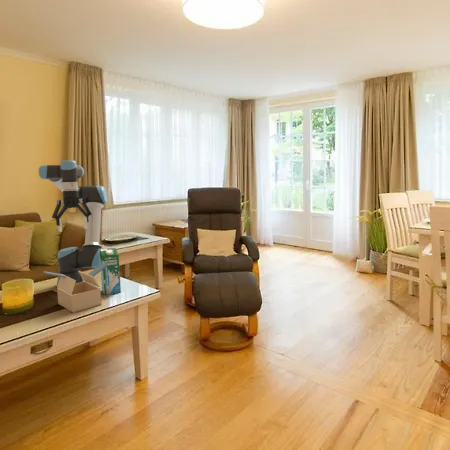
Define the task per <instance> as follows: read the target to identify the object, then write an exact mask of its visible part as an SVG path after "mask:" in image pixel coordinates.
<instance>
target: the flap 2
mask: <svg viewBox="0 0 450 450" xmlns="http://www.w3.org/2000/svg"><path fill="white" fill-rule="evenodd" d="M107 266H108V264H105V263H102V264H101V265H99V266H98V267H97V268H93V270H92V271H90V272H88V273H86V272H83V271H81V270H79V271H78V272H79V273H80V275H81V276H82V278H83V282H87V283H89V284H91V285H94V286H96V287H98V288H100V284H99V282H98V281H97V280H96V279H95V276H97V275H98V274H99V273H101V271H102V270H103V269H104V268H106V267H107Z"/></svg>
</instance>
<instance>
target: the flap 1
mask: <svg viewBox="0 0 450 450" xmlns="http://www.w3.org/2000/svg"><path fill="white" fill-rule="evenodd" d="M42 273H43V274H45V275H48V276H54V277H60V279H59V282H58V285H57V284H56V288H58V287H59V288H61V289H62V290H64V291H66V292H68V293H70V294H72V291H73V288H74V285H75V282H76V280H74V279H71V278H69V277H67V276H65V275H63V274H59V273H58V272H57V273H56V272H51V271H50V272H49V271H46V270H42Z"/></svg>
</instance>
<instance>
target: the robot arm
mask: <svg viewBox="0 0 450 450" xmlns="http://www.w3.org/2000/svg"><path fill="white" fill-rule="evenodd" d="M84 174H85V170H84V167H82V166H81V165H79V164H77V162H76V160H61V162H60V164H43V165H40V166H39V167H38V176H39V177H40V179H42V180H49V182H51V183H52V184H53V185H54V186H55V187H56V188H57V189H58V190H60V191H61V192H62V199H63V200H61V199H57V200H56V205H55V208H54V211H53V213H52V216H51V218H52V219H54V220H55V224H56V227H57V226H58V227H57V228H58V232H61V233H62V232H63V226H62V225H63V224H62V223H63V222H62V219H61V218H62V216H63V215H64V214H65V212H66V211H67V209H72V208H74V209H75V208H76V209H78V211H79V212H80V213H81V214H82V215H83V216H82V217H83V219H82V220H83V221H82V222H83V228H84V229H85V237H84V238H85V239H84V244H83V245H82V246H81V249H79V248H78V247H77V246H71V247H66V248H62V249H60V250H58V251H57V262H58V263H57V264H58V274H63V275H65V276H67V277H69V278H71V279H74V280H76V282H75V284H76V283H81V282H84V279H83V278H82V276H81V275H80V273H79V272H78V271H80V269H95V268H97V267H98V266H99V265H100V249H103V248H102V247H103V246H102V245H101V244H100V240H101V239H100V238H101V221H102V220H101V218H102V210H103V208H104V207H105V204H107V203H108V196H107V190H106V189H105V187H104V186H102V185H78V183H79V182H78V180H79V179H81V178H83V177H84ZM62 204H63V206H62ZM61 207H62V208H61ZM57 277H58V276H57ZM59 279H60V277H58V278H57V280H56V281H57V282H56V286H57V285H58V282H59ZM57 288H59V287H57Z"/></svg>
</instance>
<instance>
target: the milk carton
mask: <svg viewBox="0 0 450 450" xmlns="http://www.w3.org/2000/svg"><path fill="white" fill-rule="evenodd" d="M119 257H120V256H119V252H118V250H117V248H116V247H110V248H102V249H100V265H101V264H102V263H105V264H108V266H107V267H106V268H104V269H103V270H102V271H100V278H101V291H102V292H103V294H104V295H105V296H106V295H113V294H120V293H121V292H122V290H121V289H122V287H121V275H120V274H121V273H120V271H121V270H120V258H119Z"/></svg>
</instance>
